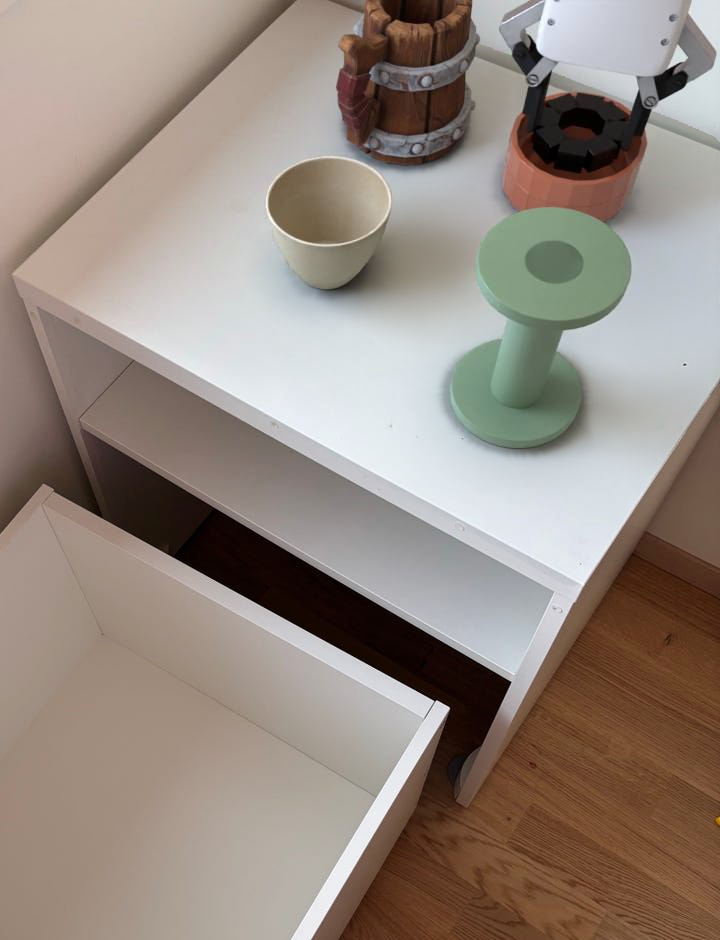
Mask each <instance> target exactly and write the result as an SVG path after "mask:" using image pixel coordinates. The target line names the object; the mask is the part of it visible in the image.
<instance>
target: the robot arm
mask: <svg viewBox="0 0 720 940" xmlns="http://www.w3.org/2000/svg"><path fill="white" fill-rule="evenodd" d="M692 1H693V0H527V1H526V2H524V3H522V4H520V5H518V6H517V7H515V8H513V9H512V10H509V11H508V12H506V13H504V15H503V17H502V19H501V21H500V24H499V27H498V31H499V34H500V35H501V37H502V38H503V40H504V42H505V44H506V46H507V47H508V49H510V50H511V56H512V59H513V60H514V62H515V63H516V65H517V66H518V67H519V69H520V70H521V72H522V73H523V74H524V76H525V79H524V80H525V84H526V85H527V90H526V94H525V98H524V103H523V106H522V107H523V108H522V111H523V112H522V111H521V112H522V114H525V115H530V116H529V120H528V125H527V129H526V132H530V133H532V132H533V131H534V132H535V130H536V126H537V122H538V120H539V117H540V114H541V111H542V108H543V106H544V102H545V98H546V96H547V94H548V89H549V85H550V83H551V77H552V73H553V70H554V69H555V67H556V66H558V65H559V63H561V64H568V65H572V66H578V67H583V68H588V69H594V70H600V71H606V72H611V73H616V74H622V75H628V76H633V77H635V78H636V82H637V87H638V91H637V93H636V96H635V99H634V102H633V105H632V107H631V110H630V111H631V114H630V117H629V120H628V123H627V126H626V130H625V133H624V136H623V140H622V143H621V146H620V148H621V149H622V151H626V152H628V150H629V147H630V144H631V141H632V138H633V136H638V137H642V136H643V133H644V130H645V131H646V127H647V125H648V121H649V119H650V115H651V113H652V109H655V108H656V107H658V105H659V102H661V101H662V100H664V99H667V98H668V97H670V96H672V95H674V94H676V93H678V92H679V91H681V90H683V89H685V88H686V87H687V84H689V83H690V82H694V81H695V80H697V79H698V78H700V77H701V76H703V75H704V74H706V73H707V72H709V71H711V70H712V69H714V68H713V67H714V66H715V62H716V59H717V53H718V52H717V50H716V48H715V47H714V46H713V45H712V43H711V42H710V41H709V39H708V38H707V36H706V35H705V34H704V32H703V31H702V29H700V27H699V25H697V23H696V22H695V21H694V19H693V17H692V16H691V15H690V14H689V11H690V9H691V5H692ZM538 22H539V26H538V29H537V30H538V31H537V35H536V41H535V40H534V39H533V37H532V36H531V35H530V34H528V33H527V30H526V29H527V28H529V27H531V26H532V25H534V24H536V23H538ZM677 47H679V48H680V49H681V50H682V52H683V53H684V54H685V56H686V57H687V58H686V59H685V60H683V61H681V62H677V63H676V64H674V65H672V66H670V64H671V61H672V59H673V57H674V55H675V52H676V49H677ZM669 66H670V67H669ZM668 67H669V68H668Z"/></svg>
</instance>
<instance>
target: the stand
mask: <svg viewBox="0 0 720 940" xmlns="http://www.w3.org/2000/svg"><path fill="white" fill-rule="evenodd" d="M474 272H475V279H476V282H477V286H478V288H479V291H480V293H481V294H482V295H483V297H484V299H485V300H486V301H487V303H488V304H489V305H490V306H491V307H492V308H493V309H494V310H496V311H497V312H498V313H499V314H500V315H502V316H503V317H505V318H506V319H507V320H506V324H505V327H504V330H503V335H502V338H498V339H494V340H490V341H486V342H484V343H482V344H480V345H478V346H476V347H474V348H473V349H471V350H469V352H468V353H466V354H465V355H463V357H462V358H461V359H460V361H459V362H458V363H457V365H456V367H455V368H454V371H453V373H452V378H451V382H450V387H449V400H450V405H451V408H452V411H453V412H454V414H455V417H456V418H457V419H458V421H459V422H460V423H461V425H462V426H463V427H464V428H465V429H466V430H467V431H468V432H470V433H471V434H472V435H474V436H475V437H477V438H478V439H480V440H481V441H484V442H487V443H488V444H491V445H495V446H499V447H502V448H503V447H504V448H510V449H528V448H533V447H538V446H542V445H544V444H548V443H549V442H552V441H553V440H555V439H557V438H558V437H559V436H561V435H562V434H564V433H565V432H566V431H567V430H568V428H570V426H571V425H572V423H573V422H574V420H575V418H576V417H577V413H578V411H579V408H580V406H581V403H582V398H583V397H582V384H581V381H580V377H579V375H578V373H577V371H576V369H575V368H574V366H573V365H572V363H571V362H570V361H569V360H568V359H567V358H566V357H565V356H564V355H563V354H562V353H560V352H558V351H557V350H558V348H559V344H560V342H561V340H562V336H563V333H564V331H571V330H577V329H581V328H584V327H585V328H586V327H587V326H590V325H593V324H595V323H596V322H599V321H601V320H602V319H604V318H605V317H607V316H608V315H610V314H611V313H612V312H613V311H614V310H615V309H616V308H617V307H618V305H620V303H621V301H622V300H623V298H624V297H625V294H626V291H627V289H628V287H629V284H630V281H631V277H632V259H631V255H630V253H629V250H628V247H627V246H626V244H625V242H624V240H623V239H622V238H621V237H620V235H619V234H618V233H617V232H616V231H615V230H614V229H612V227H610V226H609V225H608V224H607V223H605V222H602V221H600V220H598V219H596V218H594V217H592V216H590V215H588V214H585V213H582V212H579V211H575V210H572V209H566V208H557V207H541V208H533V209H528V210H524V211H521V212H519V211H517V212H514V213H512V214H511V215H508V216H506V217H505V218H503V219H501V220H499V221H498V222H497V223H496V224H495V225H493V226H492V227H491V228H490V230H489V231H488V232H487V233H486V234H485V236H484V237H483V239H482V240H481V243H480V245H479V247H478V251H477V256H476V261H475V269H474Z"/></svg>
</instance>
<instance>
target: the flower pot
mask: <svg viewBox="0 0 720 940" xmlns="http://www.w3.org/2000/svg"><path fill="white" fill-rule="evenodd" d="M392 207H393V194H392V190H391V187H390V185H389V183H388V182H387V181H386V179H385V177H384V176H383V174H381V173H380V172H379V171H378V170H376V169H375V168H374V167H372V166H371V165H369V164H367V163H365V162H363V161H361V160H357V159H355V158H351V157H347V156H340V155H322V156H316V157H310V158H307V159H303V160H301V161H298V162H296V163H294V164H292V165H290V166H288V167H287V168H285V169H284V170H283V171H281V172H280V173H279V174H278V175H277V176H276V177H275V178H274V179H273V181H272V182H271V183H270V186H269V187H268V190H267V192H266V197H265V209H266V215H267V220H268V224H269V228H270V230H271V231H270V232H271V233H272V236H273V239H274V242H275V244H276V246H277V248H278V250H279V252H280V254H281V256H282V258H283V259H284V260H285V262H286V263H287V265H288V267H290V268H291V270H292V271H293V272H294V274H295V275H296V276H297V277H298V278H299V279H300V280H301V281H302V282H304V283H305V284H306V285H308V286H310V287H312V288H315V289H318V290H319V289H320V290H333V289H337V288H340V287H343V286H345V285H346V284H348V283H349V282H351V280H352V279H354V278H355V277H356V276H357V275H358V274H359V273H360V272H361V271H362V270H363V268H364V267H365V266H366V264H367V263H368V262H369V260H370V259H371V257H372V256H373V255H374V253H375V251H376V249H377V248H378V246H379V244H380V242H381V240H382V238H383V236H384V233H385V230H386V228H387V226H388V223H389V219H390V215H391V212H392Z"/></svg>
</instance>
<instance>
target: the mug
mask: <svg viewBox="0 0 720 940" xmlns="http://www.w3.org/2000/svg"><path fill="white" fill-rule="evenodd" d="M472 10H473V0H365V3H364V13H363V14H362V16H361V17H360V19H359V20H358V22H357V23H355V25H353V29H352V31H353V33H352V34H351V33H348V34H347V33H346V34H344V35H342V36H341V38H340V40H339V41H338V43H337V47H338V48H339V50H340V51H342V52H343V66H342V67H341V68H339V72H338V76H337V81H336V86H335V89H336V92H337V105H338V108H339V110H340V112H341V119H342V122H343V123H344V125H345V126H346V140H347V141H348V142H349V143H351V144H352V145H354V146H356V147H358V148H359V149H360V150H361V151H362V152H364V153H365V154H368V153H369V152H370V157H372V158H373V159H376V160H379V161H381V162H383V163H386V164H392V165H401V166H411V165H412V166H413V165H418V164H422V163H423V161H424V159H425V160H426V161H427V162H430V161H434V160H436V159H438V158H440V157H443V156H445V155H446V154H447V153H448V152H450V151H451V150H452V149H453V148H455V147H456V146H457V144H458V143H459V141H460V139H461V137H462V136H463V135H464V133H465V131H466V130H467V128H468V126H469V124H470V122H471V118H472V112H473V111H474V110H475V109H476V102H475V101H474V100H473V99H472V90H471V88H470V87H469V85H468V83H467V81H466V77H467V71H468V70H469V68H470V66H471V65H472V63H473V61H474V59H475V57H476V47H477V46H478V45H479V44H480V42H481V36H480V35H479V33H478V32H477V26H476V24H475V22H474V21H473V19H472Z"/></svg>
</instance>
